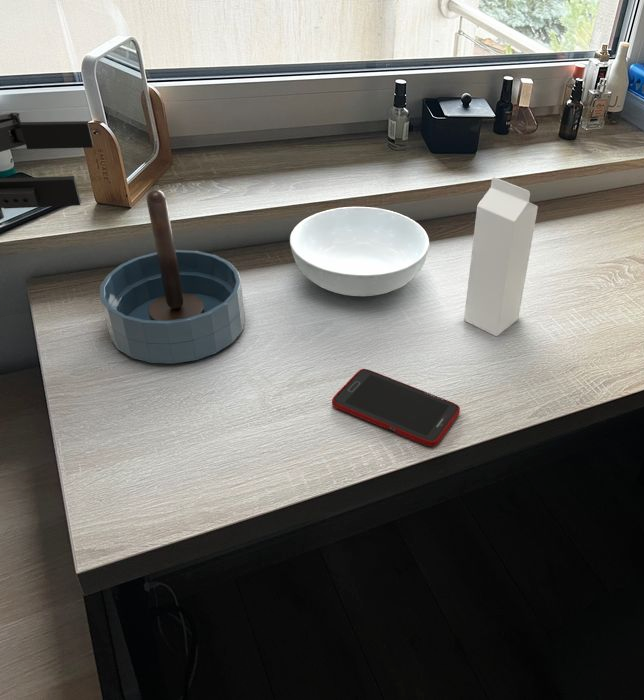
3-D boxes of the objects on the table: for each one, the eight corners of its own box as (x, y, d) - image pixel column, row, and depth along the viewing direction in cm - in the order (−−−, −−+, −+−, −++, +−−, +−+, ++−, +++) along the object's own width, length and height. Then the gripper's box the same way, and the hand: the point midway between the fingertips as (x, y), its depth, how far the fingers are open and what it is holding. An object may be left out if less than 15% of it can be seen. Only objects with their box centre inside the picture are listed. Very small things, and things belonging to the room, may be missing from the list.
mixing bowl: (140, 384, 90) (129, 339, 85) (92, 314, 99) (80, 271, 95) (267, 338, 99) (263, 296, 95) (212, 279, 109) (206, 238, 104)
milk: (485, 304, 111) (504, 169, 97) (519, 319, 108) (542, 184, 95) (462, 321, 107) (478, 182, 93) (496, 338, 104) (518, 198, 91)
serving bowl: (401, 235, 124) (402, 199, 120) (446, 303, 110) (450, 264, 106) (279, 250, 117) (276, 212, 113) (310, 325, 102) (308, 284, 98)
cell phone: (361, 372, 95) (361, 366, 95) (462, 411, 91) (462, 405, 91) (328, 406, 90) (328, 400, 89) (434, 450, 85) (434, 444, 85)
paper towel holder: (164, 345, 95) (136, 209, 83) (143, 318, 99) (114, 185, 87) (215, 327, 99) (195, 196, 86) (193, 302, 103) (171, 173, 90)
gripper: (-108, 150, 80) (102, 145, 86) (-195, 271, 62) (80, 254, 68) (-137, 82, 75) (88, 82, 81) (-239, 191, 57) (60, 181, 63)
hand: (84, 160), depth 74 cm, fingers open, 13 cm apart
